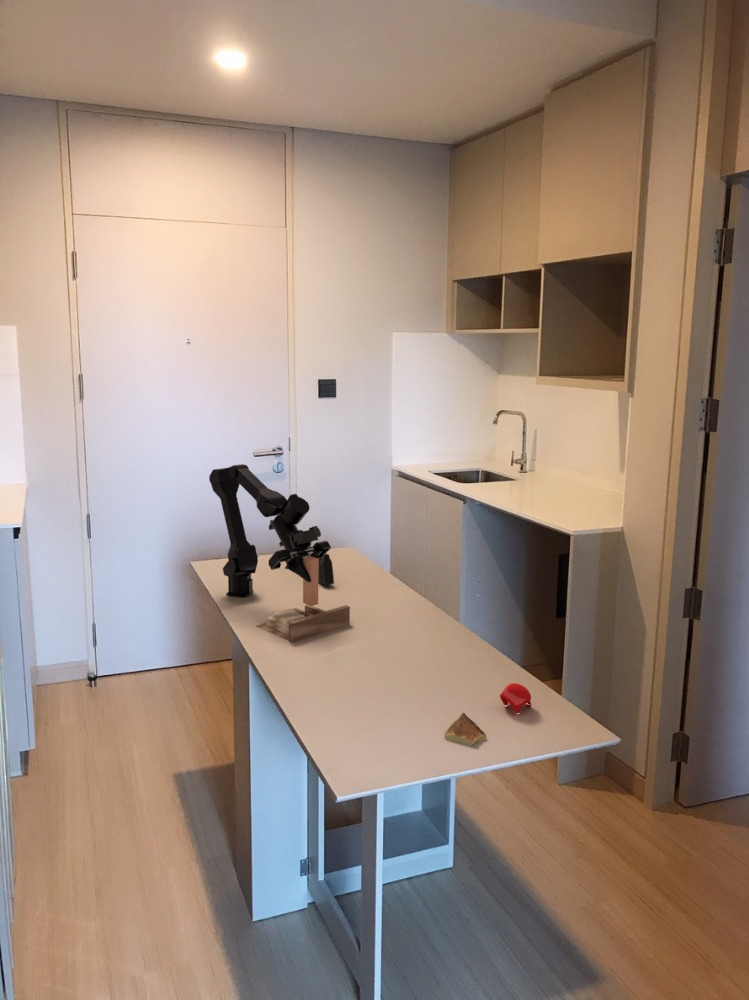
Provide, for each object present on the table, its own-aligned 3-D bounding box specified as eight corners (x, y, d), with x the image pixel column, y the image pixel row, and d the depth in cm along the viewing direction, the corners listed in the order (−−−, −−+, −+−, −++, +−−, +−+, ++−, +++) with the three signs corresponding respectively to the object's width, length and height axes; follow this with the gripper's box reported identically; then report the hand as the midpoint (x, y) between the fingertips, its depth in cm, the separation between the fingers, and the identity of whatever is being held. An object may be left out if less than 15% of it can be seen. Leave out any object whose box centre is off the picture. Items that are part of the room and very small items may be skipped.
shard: (462, 718, 169) (463, 710, 169) (497, 727, 166) (497, 719, 165) (442, 740, 160) (443, 732, 159) (478, 750, 156) (479, 742, 156)
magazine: (337, 562, 250) (304, 516, 273) (327, 563, 248) (295, 516, 272) (330, 607, 257) (299, 558, 281) (321, 608, 256) (290, 559, 279)
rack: (255, 629, 216) (255, 608, 215) (311, 612, 230) (311, 592, 229) (292, 646, 205) (292, 623, 204) (349, 627, 219) (349, 606, 218)
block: (303, 602, 221) (303, 557, 219) (309, 600, 223) (310, 556, 220) (311, 606, 219) (311, 560, 216) (318, 604, 221) (318, 558, 218)
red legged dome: (513, 706, 167) (535, 689, 168) (495, 688, 171) (516, 671, 172) (518, 724, 173) (539, 707, 174) (500, 706, 177) (521, 689, 178)
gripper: (274, 522, 212) (301, 571, 207) (327, 512, 225) (353, 558, 220) (257, 545, 219) (282, 593, 214) (308, 534, 232) (333, 579, 227)
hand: (314, 580), depth 219 cm, fingers closed on block, 2 cm apart
